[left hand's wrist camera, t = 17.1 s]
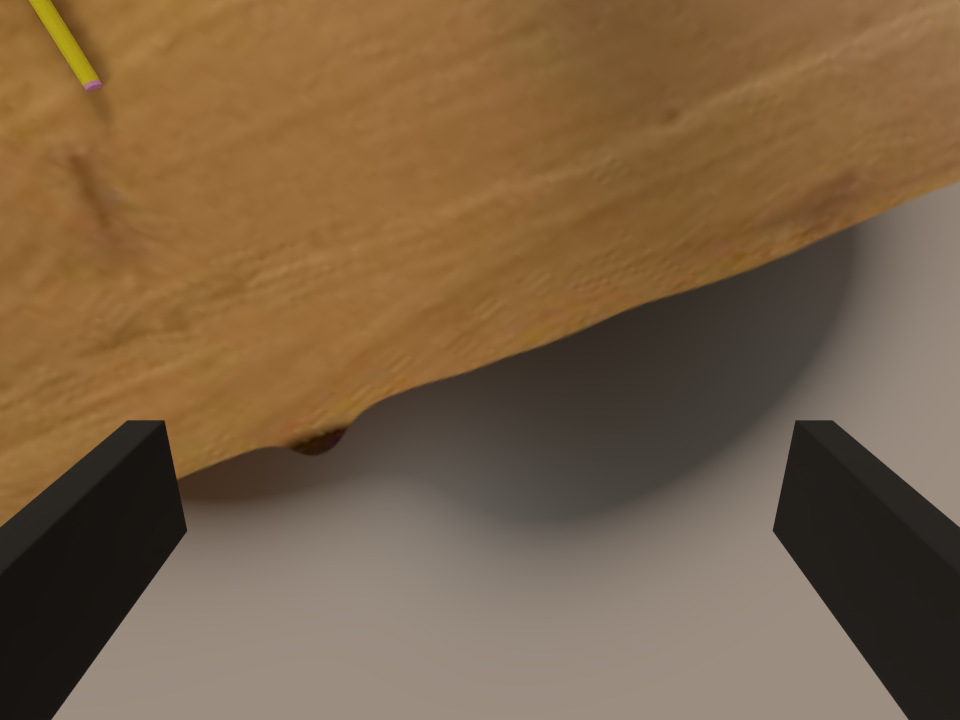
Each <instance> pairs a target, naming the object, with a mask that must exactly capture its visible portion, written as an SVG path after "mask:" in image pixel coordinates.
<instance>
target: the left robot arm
mask: <svg viewBox="0 0 960 720" xmlns="http://www.w3.org/2000/svg"><path fill="white" fill-rule="evenodd" d="M186 532H187V528H186V523H185V518H184V513H183V508H182V503H181V498H180V494H179V489H178V484H177V479H176V474H175V469H174V465H173V460H172V455H171V450H170V445H169V440H168V436H167V431H166V426H165V421H164V420H128V421H126V422H125V423H124V424H123V425H122V426H120V427H119V428H118V429H117V430H116V431H114V432H113V433H112V434H111V435H110V436H108V437H107V438H106V439H105V440H104V441H103V442H101V443H100V444H99V445H98V446H97V447H95V448H94V449H93V450H92V451H91V452H89V453H88V454H87V455H86V456H85V457H84V458H82V459H81V460H80V461H79V462H78V463H76V464H75V465H74V466H73V467H72V468H70V469H69V470H68V471H67V472H66V473H64V474H63V475H62V476H61V477H60V478H59V479H57V480H56V481H55V482H54V483H53V484H51V485H50V486H49V487H48V488H47V489H45V490H44V491H43V492H42V493H41V494H40V495H38V496H37V497H36V498H35V499H34V500H32V501H31V502H30V503H29V504H28V505H26V506H25V507H24V508H23V509H22V510H20V511H19V512H18V513H17V514H16V515H15V516H13V517H12V518H11V519H10V520H9V521H7V522H6V523H5V524H4V525H3V526H1V527H0V720H51V719H52V718H53V717H54V715H55V714H56V712H57V711H58V710H59V708H60V707H61V706H62V704H63V703H64V701H65V700H66V699H67V697H68V696H69V694H70V693H71V692H72V690H73V689H74V687H75V686H76V685H77V683H78V682H79V681H80V679H81V678H82V676H83V675H84V674H85V672H86V671H87V669H88V668H89V667H90V665H91V664H92V662H93V661H94V660H95V658H96V657H97V655H98V654H99V653H100V651H101V650H102V649H103V647H104V646H105V644H106V643H107V641H108V640H109V639H110V637H111V636H112V635H113V633H114V632H115V630H116V629H117V628H118V626H119V625H120V623H121V622H122V621H123V619H124V618H125V617H126V615H127V614H128V612H129V611H130V610H131V608H132V607H133V605H134V604H135V603H136V601H137V600H138V598H139V597H140V596H141V594H142V593H143V592H144V590H145V589H146V587H147V586H148V585H149V583H150V582H151V580H152V579H153V578H154V576H155V575H156V574H157V572H158V571H159V569H160V568H161V567H162V565H163V564H164V562H165V561H166V560H167V558H168V557H169V555H170V554H171V553H172V551H173V550H174V549H175V547H176V546H177V544H178V543H179V542H180V540H181V539H182V537H183V536H184V535H185V533H186ZM773 532H774V533H775V535H776V536H777V537H778V539H779V540H780V542H781V543H782V544H783V546H784V547H785V549H786V550H787V551H788V553H789V554H790V555H791V557H792V558H793V560H794V561H795V562H796V564H797V565H798V567H799V568H800V569H801V571H802V572H803V574H804V575H805V576H806V578H807V579H808V580H809V582H810V583H811V585H812V586H813V587H814V589H815V590H816V592H817V593H818V594H819V596H820V597H821V599H822V600H823V601H824V603H825V604H826V605H827V607H828V608H829V610H830V611H831V612H832V614H833V615H834V617H835V618H836V619H837V621H838V622H839V624H840V625H841V626H842V628H843V629H844V630H845V632H846V633H847V635H848V636H849V637H850V639H851V640H852V642H853V643H854V644H855V646H856V647H857V649H858V650H859V651H860V653H861V654H862V656H863V657H864V658H865V660H866V661H867V662H868V664H869V665H870V667H871V668H872V669H873V671H874V672H875V674H876V675H877V676H878V678H879V679H880V680H881V682H882V683H883V685H884V686H885V687H886V689H887V690H888V692H889V693H890V694H891V696H892V697H893V698H894V700H895V701H896V703H897V704H898V706H899V707H900V708H901V710H902V711H903V712H904V714H905V715H906V717H907V718H908V719H909V720H960V527H959V526H957V525H956V524H955V523H954V522H953V521H951V520H950V519H949V518H948V517H947V516H945V515H944V514H943V513H942V512H941V511H939V510H938V509H937V508H936V507H935V506H934V505H932V504H931V503H930V502H929V501H928V500H926V499H925V498H924V497H923V496H922V495H920V494H919V493H918V492H917V491H916V490H915V489H913V488H912V487H911V486H910V485H909V484H907V483H906V482H905V481H904V480H903V479H901V478H900V477H899V476H898V475H897V474H896V473H894V472H893V471H892V470H891V469H890V468H888V467H887V466H886V465H885V464H884V463H882V462H881V461H880V460H879V459H878V458H876V457H875V456H874V455H873V454H872V453H871V452H869V451H868V450H867V449H866V448H865V447H863V446H862V445H861V444H860V443H859V442H857V441H856V440H855V439H854V438H853V437H851V436H850V435H849V434H848V433H847V432H846V431H844V430H843V429H842V428H841V427H840V426H838V425H837V424H836V423H835V422H834V421H831V420H827V421H825V420H816V421H815V420H813V421H812V420H810V421H808V420H803V421H801V420H796V421H795V426H794V431H793V436H792V440H791V445H790V450H789V455H788V460H787V465H786V470H785V474H784V479H783V484H782V489H781V494H780V499H779V503H778V508H777V513H776V518H775V523H774V527H773Z"/></svg>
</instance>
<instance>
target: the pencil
mask: <svg viewBox="0 0 960 720" xmlns="http://www.w3.org/2000/svg"><path fill="white" fill-rule="evenodd" d="M29 1H30V3H31V5H32V6H33V8H34V9H35V11H36V12H37V14H38V16H39V17H40V19H41V20H42V22H43V24H44V25H45V27H46V28H47V30H48V31H49V33H50V35H51V36H52V38H53V39H54V41H55V43H56V44H57V46H58V47H59V49H60V51H61V52H62V54H63V55H64V57H65V58H66V60H67V62H68V63H69V65H70V66H71V68H72V70H73V71H74V73H75V74H76V76H77V77H78V79H79V81H80V82H81V84H82V85H83V87H84V88H85V90H86V91H87V92H90V91H94V90H97V89H99V88H101V87H102V85H103V84H102V83H101V81H100V80H99V78H98V76H97V75H96V73H95V71H94V70H93V68H92V67H91V65H90V63H89V62H88V60H87V59H86V57H85V55H84V54H83V52H82V50H81V49H80V47H79V46H78V44H77V42H76V41H75V39H74V38H73V36H72V34H71V33H70V31H69V30H68V28H67V26H66V25H65V23H64V21H63V20H62V18H61V17H60V15H59V13H58V12H57V10H56V9H55V7H54V5H53V4H52V2H51V0H29Z"/></svg>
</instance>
